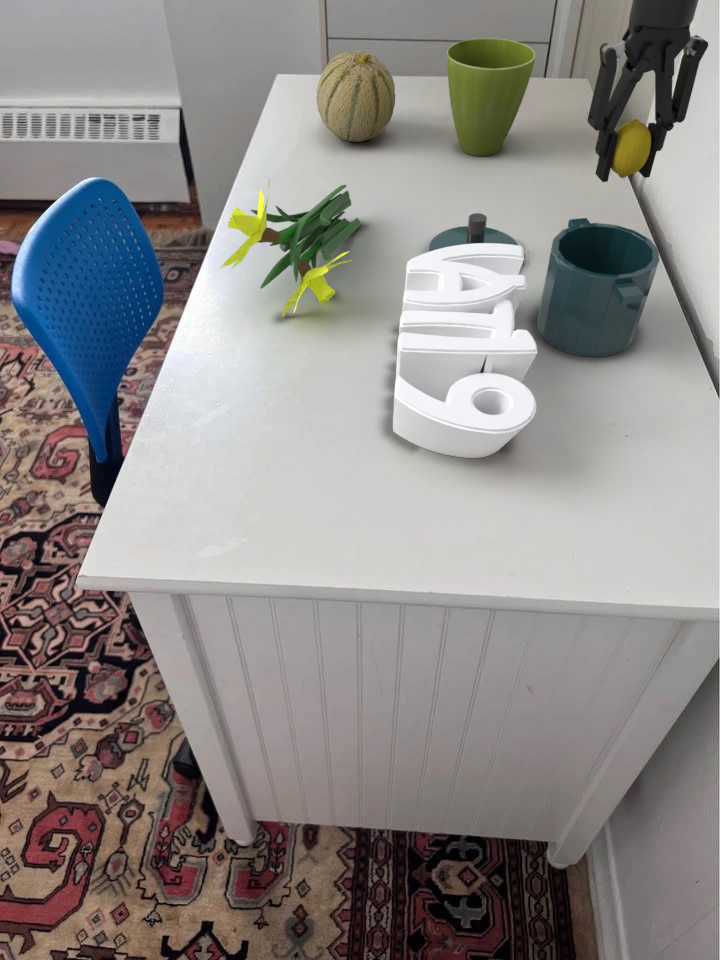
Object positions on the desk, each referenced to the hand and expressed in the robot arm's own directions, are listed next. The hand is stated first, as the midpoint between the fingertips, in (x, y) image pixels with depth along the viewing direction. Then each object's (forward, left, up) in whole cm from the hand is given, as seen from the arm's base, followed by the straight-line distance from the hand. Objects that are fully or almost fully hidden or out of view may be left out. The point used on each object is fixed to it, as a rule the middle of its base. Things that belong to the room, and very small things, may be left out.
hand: (622, 175), depth 103 cm
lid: (+21, +1, -10) cm, 23 cm away
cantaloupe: (+32, -44, -10) cm, 56 cm away
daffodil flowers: (+46, +1, -10) cm, 48 cm away
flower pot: (+10, -35, -10) cm, 38 cm away
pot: (+11, +21, -10) cm, 26 cm away
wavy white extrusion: (+30, +28, -10) cm, 42 cm away
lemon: (0, 0, -1) cm, 1 cm away
